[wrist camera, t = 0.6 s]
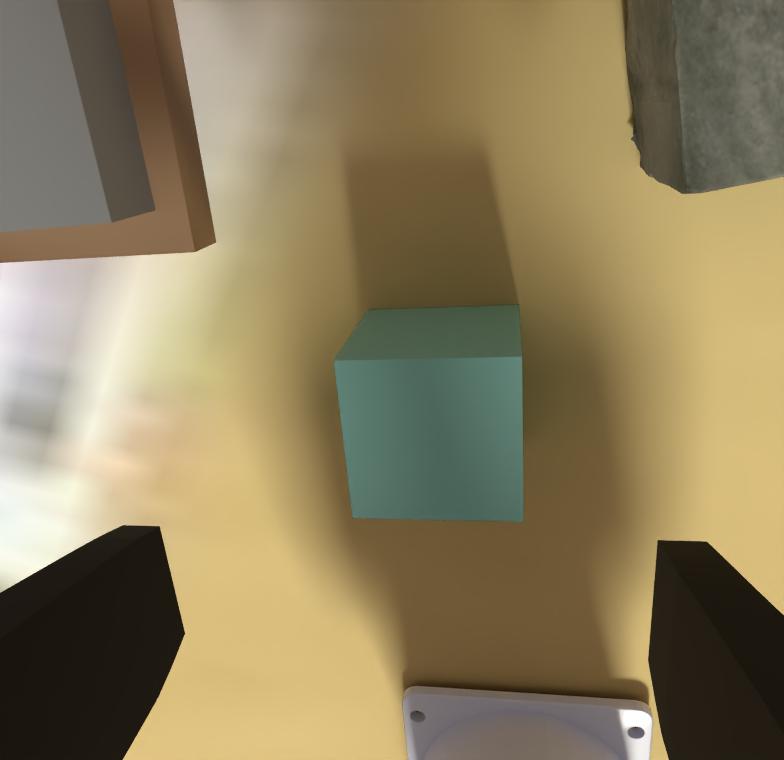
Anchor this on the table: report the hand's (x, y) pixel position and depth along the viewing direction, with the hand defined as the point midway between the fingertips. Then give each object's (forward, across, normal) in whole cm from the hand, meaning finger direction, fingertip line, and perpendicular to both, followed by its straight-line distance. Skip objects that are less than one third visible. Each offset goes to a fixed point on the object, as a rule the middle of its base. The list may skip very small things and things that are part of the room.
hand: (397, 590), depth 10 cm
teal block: (+10, 0, 0) cm, 10 cm away
